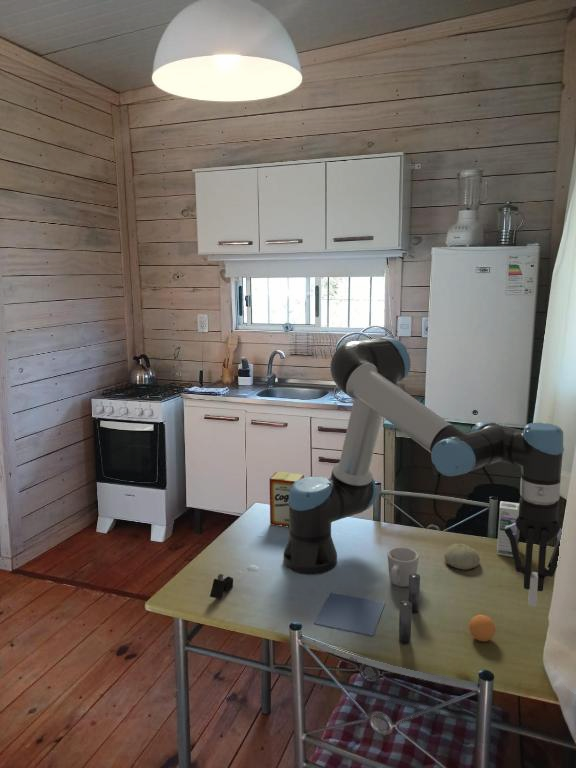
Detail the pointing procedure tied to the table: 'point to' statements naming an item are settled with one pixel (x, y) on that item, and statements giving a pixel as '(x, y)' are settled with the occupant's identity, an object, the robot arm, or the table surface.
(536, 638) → the table surface
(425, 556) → the table surface
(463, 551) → the sea urchin shell
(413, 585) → the post
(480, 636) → the ball
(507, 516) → the syrup box
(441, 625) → the table surface
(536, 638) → the table surface
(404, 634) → the post
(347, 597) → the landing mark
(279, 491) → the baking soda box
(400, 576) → the cup
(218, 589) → the black spring clamp
